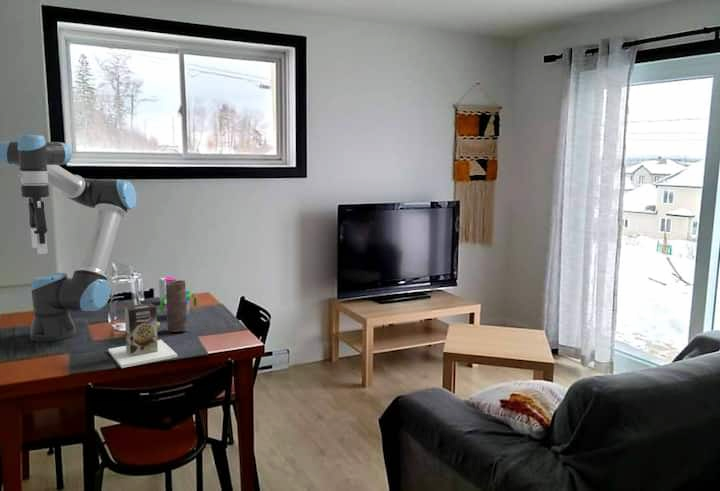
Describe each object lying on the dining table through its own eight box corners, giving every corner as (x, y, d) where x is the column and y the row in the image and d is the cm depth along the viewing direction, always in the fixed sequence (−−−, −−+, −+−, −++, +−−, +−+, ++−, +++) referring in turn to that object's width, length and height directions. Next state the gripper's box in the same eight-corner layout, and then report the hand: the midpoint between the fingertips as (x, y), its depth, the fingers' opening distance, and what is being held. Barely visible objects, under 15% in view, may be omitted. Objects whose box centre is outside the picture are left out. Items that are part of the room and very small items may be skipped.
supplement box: (164, 305, 253) (163, 280, 251) (159, 302, 257) (158, 278, 256) (177, 303, 257) (176, 278, 255) (171, 300, 261) (170, 276, 259)
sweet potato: (181, 335, 213) (179, 284, 210) (163, 333, 214) (161, 282, 211) (191, 329, 220) (189, 279, 217) (174, 327, 222) (172, 278, 218)
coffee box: (130, 356, 187) (128, 310, 184) (126, 351, 192) (123, 305, 190) (158, 351, 192) (156, 306, 190) (153, 346, 198) (151, 302, 195)
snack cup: (192, 310, 245) (192, 288, 244) (201, 316, 237) (200, 293, 235) (156, 316, 236) (155, 292, 234) (164, 322, 228) (163, 298, 226)
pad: (108, 351, 194) (108, 348, 194) (161, 342, 205) (161, 339, 205) (121, 368, 180) (121, 365, 180) (177, 357, 191) (177, 354, 190)
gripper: (16, 182, 185) (22, 245, 189) (25, 187, 165) (31, 257, 169) (42, 182, 189) (47, 243, 193) (54, 186, 170) (59, 255, 173)
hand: (39, 250), depth 181 cm, fingers open, 13 cm apart
